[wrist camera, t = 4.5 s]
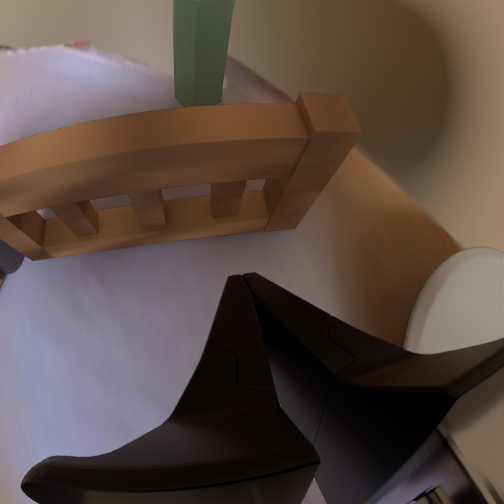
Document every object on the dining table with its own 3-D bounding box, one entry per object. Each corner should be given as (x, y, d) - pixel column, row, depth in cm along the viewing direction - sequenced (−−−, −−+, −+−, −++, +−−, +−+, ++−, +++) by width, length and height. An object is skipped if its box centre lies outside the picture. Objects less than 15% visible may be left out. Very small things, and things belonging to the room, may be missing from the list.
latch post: (193, 114, 19) (197, 1, 11) (175, 96, 20) (173, -10, 11) (220, 101, 20) (235, -7, 12) (201, 84, 21) (210, -18, 12)
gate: (32, 262, 14) (-60, 194, 6) (34, 233, 15) (-48, 153, 7) (294, 228, 17) (362, 133, 9) (287, 200, 18) (344, 96, 10)
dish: (521, 311, 19) (561, 298, 15) (488, 466, 14) (530, 474, 10) (382, 232, 19) (427, 197, 14) (315, 456, 14) (355, 488, 9)
